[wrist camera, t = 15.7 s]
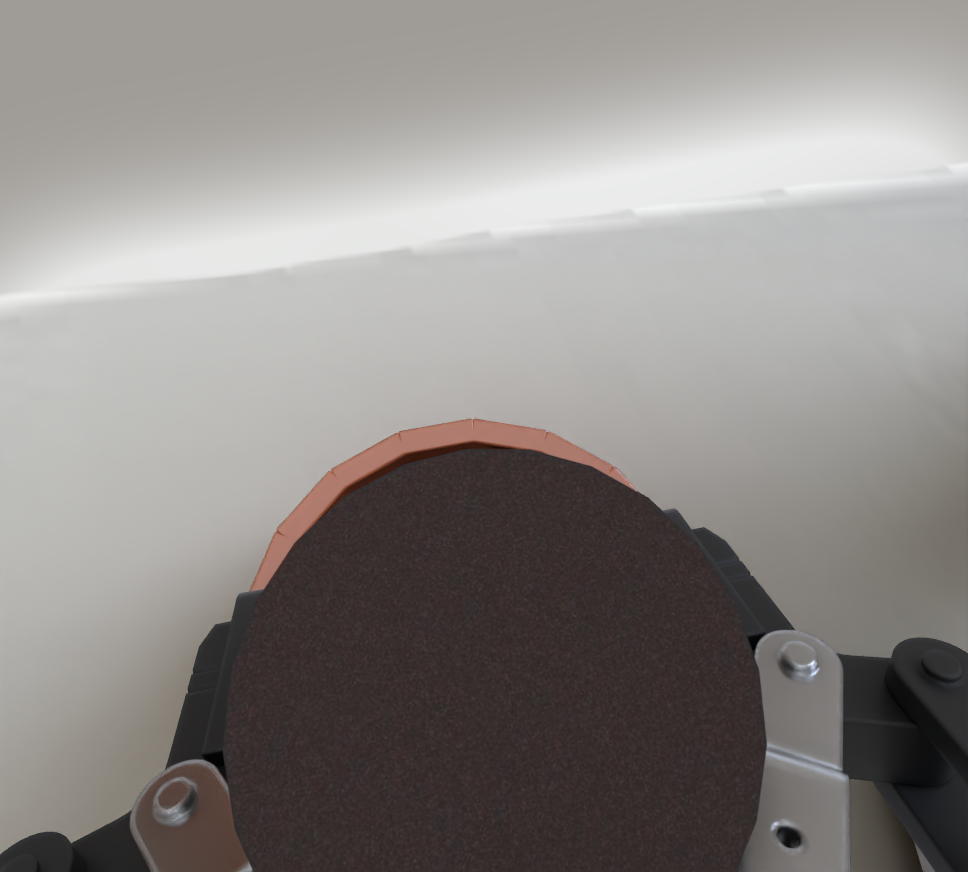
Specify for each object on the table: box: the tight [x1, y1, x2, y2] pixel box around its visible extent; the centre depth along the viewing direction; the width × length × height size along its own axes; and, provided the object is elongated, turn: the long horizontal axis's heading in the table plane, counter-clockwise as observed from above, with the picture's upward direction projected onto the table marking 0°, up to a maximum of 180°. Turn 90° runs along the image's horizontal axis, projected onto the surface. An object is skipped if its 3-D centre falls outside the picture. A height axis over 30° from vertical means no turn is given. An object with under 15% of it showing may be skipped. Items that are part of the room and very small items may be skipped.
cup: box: [249, 419, 638, 592], centre depth 18 cm, size 10×10×8 cm
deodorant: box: [223, 449, 767, 872], centre depth 14 cm, size 6×6×15 cm
